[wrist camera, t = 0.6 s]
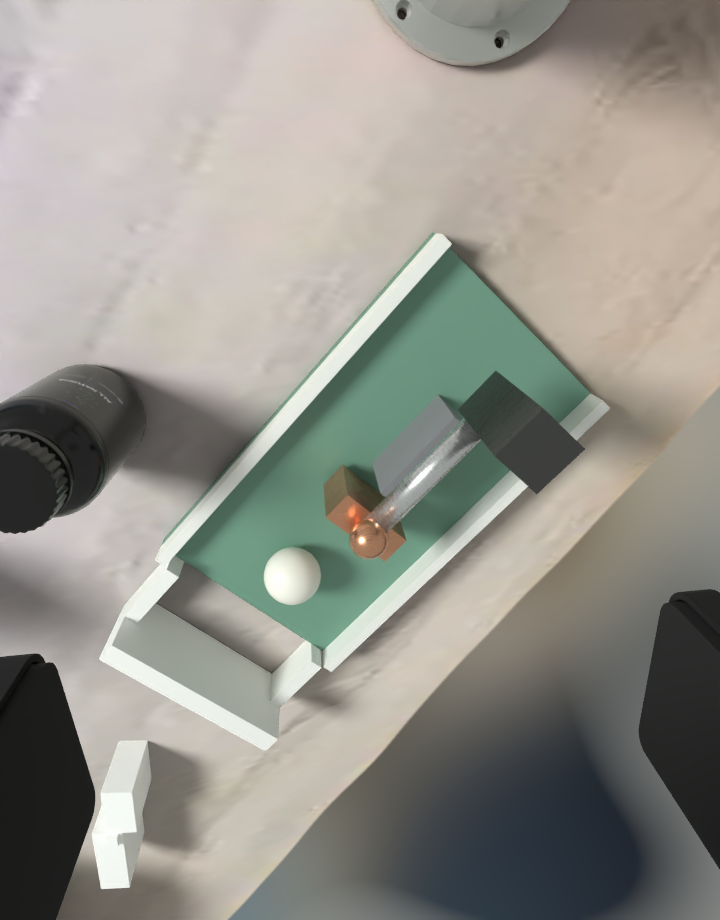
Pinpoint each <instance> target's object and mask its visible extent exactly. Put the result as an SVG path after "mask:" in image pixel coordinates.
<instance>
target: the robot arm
mask: <svg viewBox="0 0 720 920" xmlns="http://www.w3.org/2000/svg"><path fill="white" fill-rule="evenodd" d="M570 1H571V0H373V2H374V4H375V6H376V8H377V10H378V11H379V13H380V15H381V16H382V17H383V19H384V20H385V21H386V22H387V24H388V25H389V26H390V27H391V29H392V30H393V31H394V33H395V34H397V35H398V36H399V37H400V38H401V39H402V40H403V41H405V42H406V43H407V44H408V45H409V46H410V47H412V48H413V49H415V50H416V51H418V52H420V53H422V54H424V55H426V56H427V57H429V58H431V59H433V60H437V61H440V62H444V63H447V64H451V65H462V66H477V65H483V64H488V63H494V62H497V61H499V60H502V59H504V58H506V57H509V56H511V55H514V54H516V53H517V52H519V51H520V50H522V49H523V48H525V47H526V46H528V45H529V44H531V43H532V42H533V41H535V40H536V39H537V38H538V37H539V36H541V35H542V34H543V33H544V32H545V31H546V30H548V29H549V28H550V27H551V25H552V24H553V23H554V22H555V21H556V20H557V18H558V17H559V16H560V15H561V14H562V12H563V11H564V10H565V9H566V7H567V6H568V4H569V2H570ZM399 10H403V11H404V12H405V14H406V18H405V19H404V20H401V19H399V18H398V16H397V12H398V11H399ZM495 39H499V40H500V41H501V47H500V48H497V47H496V45H495V43H494V41H495ZM639 738H640V742H641V745H642V748H643V750H644V752H645V754H646V756H647V757H648V759H649V760H650V762H651V763H652V765H653V766H654V768H655V770H656V771H657V773H658V774H659V776H660V777H661V779H662V781H663V782H664V784H665V785H666V787H667V788H668V790H669V791H670V793H671V794H672V796H673V798H674V799H675V801H676V802H677V804H678V805H679V807H680V808H681V810H682V812H683V813H684V814H685V816H686V818H687V819H688V821H689V822H690V824H691V825H692V827H693V829H694V830H695V832H696V833H697V835H698V836H699V838H700V839H701V841H702V842H703V844H704V845H705V847H706V849H707V850H708V852H709V853H710V855H711V857H712V858H713V860H714V861H715V863H716V864H717V866H718V867H719V869H720V593H719V592H718V591H715V590H711V589H709V590H699V591H687V592H678V593H675V594H673V595H672V596H671V598H670V600H669V603H665V604H664V605H663V606H662V608H661V611H660V616H659V621H658V626H657V632H656V638H655V643H654V648H653V654H652V659H651V665H650V670H649V676H648V681H647V686H646V692H645V698H644V702H643V708H642V713H641V719H640V724H639ZM94 807H95V790H94V786H93V783H92V779H91V776H90V773H89V770H88V767H87V763H86V760H85V757H84V754H83V751H82V747H81V744H80V741H79V738H78V735H77V731H76V728H75V725H74V722H73V718H72V715H71V712H70V709H69V706H68V702H67V699H66V696H65V693H64V690H63V686H62V683H61V680H60V677H59V674H58V670H57V668H56V666H55V665H54V664H53V663H50V662H49V663H45V661H44V658H43V657H42V656H41V655H40V654H26V655H16V656H5V657H0V920H56V918H57V915H58V912H59V909H60V906H61V903H62V901H63V898H64V895H65V892H66V889H67V887H68V884H69V881H70V878H71V875H72V873H73V870H74V867H75V864H76V861H77V859H78V856H79V853H80V850H81V847H82V845H83V842H84V839H85V836H86V833H87V831H88V828H89V825H90V822H91V819H92V816H93V813H94Z"/></svg>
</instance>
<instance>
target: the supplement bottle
mask: <svg viewBox="0 0 720 920" xmlns="http://www.w3.org/2000/svg"><path fill="white" fill-rule="evenodd" d="M144 428H145V413H144V409H143V405H142V403H141V400H140V398H139V396H138V395H137V393H136V392H135V390H134V389H133V388H132V386H131V385H130V384H129V383H128V382H127V381H126V380H124V379H123V378H122V377H120V376H119V375H117V374H116V373H114V372H112V371H110V370H108V369H105V368H102V367H99V366H94V365H74V366H69V367H66V368H63V369H61V370H59V371H57V372H55V373H53V374H51V375H49V376H47V377H46V378H44V379H42V380H40V381H39V382H37V383H35V384H33V385H32V386H30V387H28V388H26V389H25V390H23V391H21V392H19V393H18V394H16V395H14V396H12V397H11V398H9V399H7V400H5V401H4V402H2V403H0V531H1V532H4V533H9V532H10V533H14V534H16V533H19V532H22V533H26V532H27V531H31V530H35V529H37V528H38V527H41V526H43V525H44V524H45V523H46V522H47V521H49V520H51V519H52V518H56V517H62V516H66V515H70V514H73V513H75V512H77V511H79V510H81V509H83V508H84V507H86V506H87V505H89V504H90V503H91V502H92V501H93V500H94V499H95V498H96V497H97V496H98V495H99V493H100V492H101V491H102V490H103V489H104V487H105V486H106V485H107V484H108V482H109V481H110V480H111V479H112V477H113V476H114V475H115V474H116V472H117V471H118V470H119V469H120V467H121V466H122V465H123V464H124V462H125V461H126V460H127V459H128V457H129V456H130V455H131V454H132V452H133V451H134V450H135V448H136V447H137V445H138V444H139V442H140V440H141V438H142V436H143V433H144Z"/></svg>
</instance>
